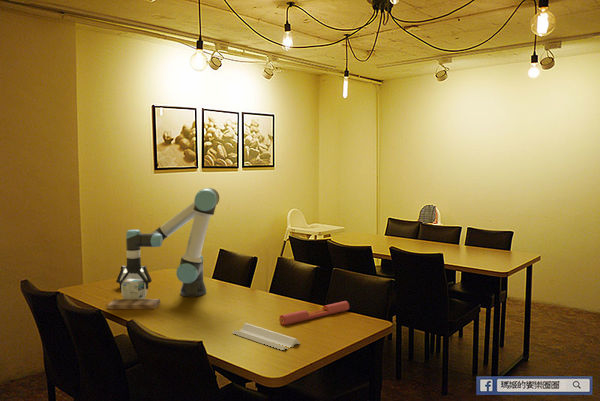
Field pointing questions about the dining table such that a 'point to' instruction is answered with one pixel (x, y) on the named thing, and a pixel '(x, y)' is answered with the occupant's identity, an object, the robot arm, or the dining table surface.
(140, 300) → the walnut board
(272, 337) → the crown molding
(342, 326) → the dining table surface
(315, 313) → the blood vessel
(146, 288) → the robot arm
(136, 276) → the toilet paper roll
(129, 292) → the light bulb box
